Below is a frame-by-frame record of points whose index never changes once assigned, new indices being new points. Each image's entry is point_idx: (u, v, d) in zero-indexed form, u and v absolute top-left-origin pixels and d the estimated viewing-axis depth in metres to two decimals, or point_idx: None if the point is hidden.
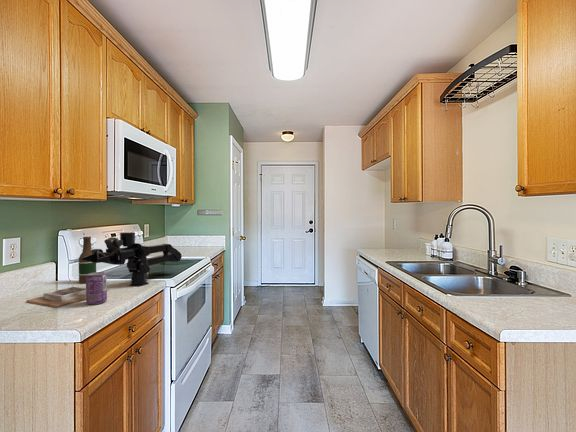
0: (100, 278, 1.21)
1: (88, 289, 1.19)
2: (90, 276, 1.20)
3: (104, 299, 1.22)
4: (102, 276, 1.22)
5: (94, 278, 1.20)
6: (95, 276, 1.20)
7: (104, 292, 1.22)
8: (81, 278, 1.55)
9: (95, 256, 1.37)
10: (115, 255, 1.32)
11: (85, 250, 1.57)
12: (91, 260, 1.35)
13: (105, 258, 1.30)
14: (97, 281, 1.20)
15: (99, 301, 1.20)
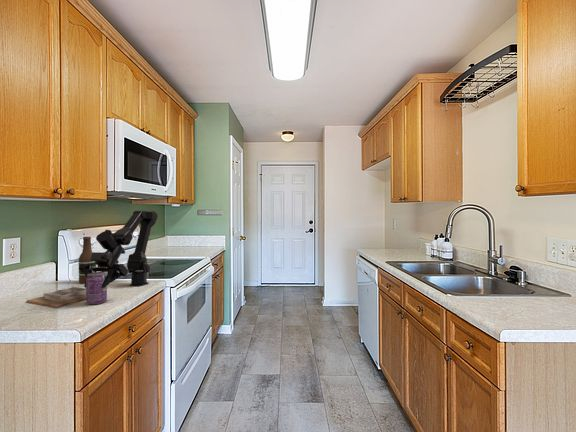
0: (100, 278, 1.21)
1: (88, 289, 1.19)
2: (90, 276, 1.20)
3: (104, 299, 1.22)
4: (102, 276, 1.22)
5: (94, 278, 1.20)
6: (95, 276, 1.20)
7: (104, 292, 1.22)
8: (81, 278, 1.55)
9: None
10: (114, 272, 1.24)
11: (85, 250, 1.57)
12: None
13: (107, 281, 1.23)
14: (97, 281, 1.20)
15: (99, 301, 1.20)
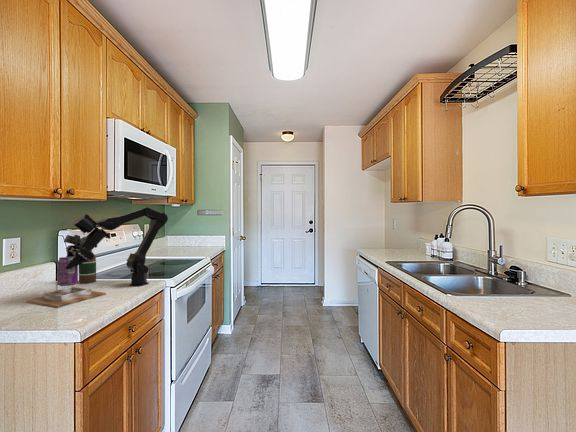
0: (65, 260, 1.26)
1: (57, 271, 1.27)
2: None
3: (69, 282, 1.26)
4: (68, 259, 1.27)
5: (60, 260, 1.26)
6: (61, 258, 1.27)
7: (69, 275, 1.26)
8: (81, 278, 1.55)
9: (72, 255, 1.34)
10: (78, 255, 1.27)
11: None
12: None
13: (72, 263, 1.27)
14: (62, 263, 1.26)
15: (63, 283, 1.25)
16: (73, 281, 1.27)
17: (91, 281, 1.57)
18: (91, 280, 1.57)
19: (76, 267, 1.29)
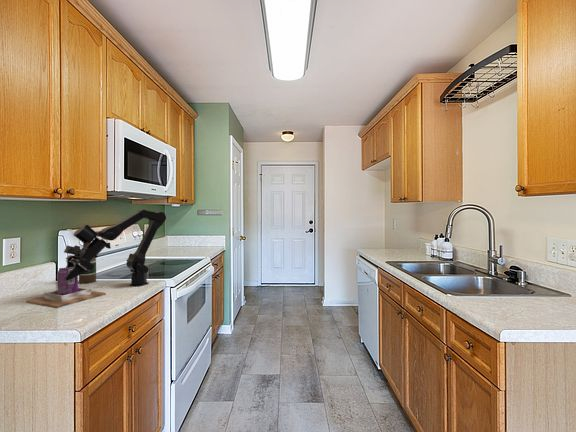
0: (65, 271, 1.26)
1: (57, 281, 1.27)
2: (59, 269, 1.27)
3: (69, 292, 1.26)
4: (68, 270, 1.27)
5: (60, 271, 1.26)
6: (61, 269, 1.27)
7: (69, 285, 1.27)
8: (81, 278, 1.55)
9: (72, 265, 1.34)
10: (78, 266, 1.27)
11: None
12: None
13: (72, 274, 1.27)
14: (62, 274, 1.26)
15: (63, 294, 1.25)
16: (73, 292, 1.27)
17: (91, 281, 1.57)
18: (91, 280, 1.57)
19: (76, 277, 1.30)
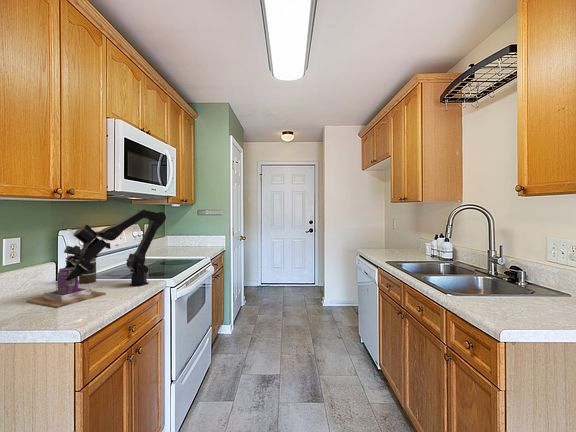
0: (65, 273, 1.26)
1: None
2: (59, 270, 1.27)
3: None
4: (68, 271, 1.26)
5: (60, 272, 1.26)
6: (61, 271, 1.26)
7: (70, 287, 1.26)
8: (81, 278, 1.55)
9: (71, 265, 1.35)
10: (79, 266, 1.27)
11: None
12: None
13: (72, 274, 1.26)
14: (62, 276, 1.25)
15: None
16: None
17: (91, 281, 1.57)
18: (91, 280, 1.57)
19: (76, 279, 1.29)
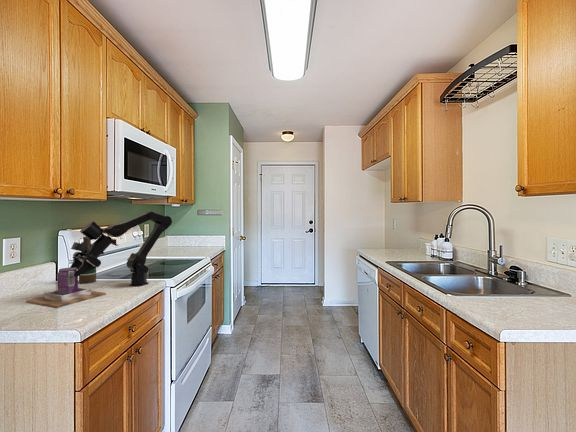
0: (65, 273, 1.25)
1: None
2: (59, 271, 1.26)
3: None
4: (68, 272, 1.26)
5: (60, 273, 1.25)
6: (61, 271, 1.26)
7: (70, 287, 1.26)
8: (81, 278, 1.55)
9: (78, 262, 1.37)
10: (86, 262, 1.29)
11: None
12: (77, 267, 1.36)
13: (80, 270, 1.28)
14: (62, 276, 1.25)
15: None
16: None
17: (91, 281, 1.57)
18: (91, 280, 1.57)
19: (76, 279, 1.29)
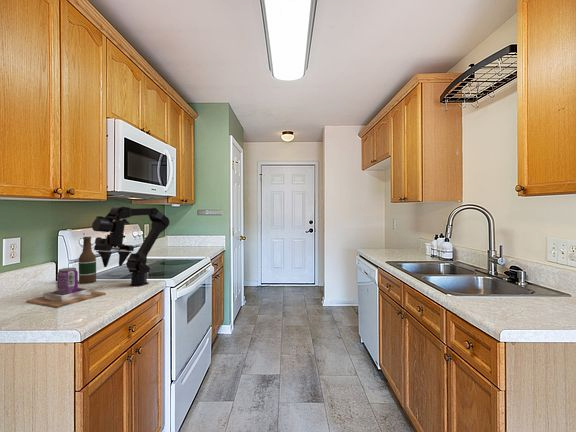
0: (65, 274, 1.25)
1: (57, 283, 1.26)
2: None
3: None
4: (68, 272, 1.26)
5: (60, 273, 1.25)
6: (61, 271, 1.25)
7: (69, 288, 1.26)
8: (81, 278, 1.55)
9: (121, 253, 1.46)
10: (100, 252, 1.34)
11: (85, 249, 1.57)
12: (123, 257, 1.45)
13: (103, 260, 1.35)
14: (61, 276, 1.25)
15: None
16: None
17: (91, 281, 1.57)
18: (91, 280, 1.57)
19: (76, 279, 1.29)
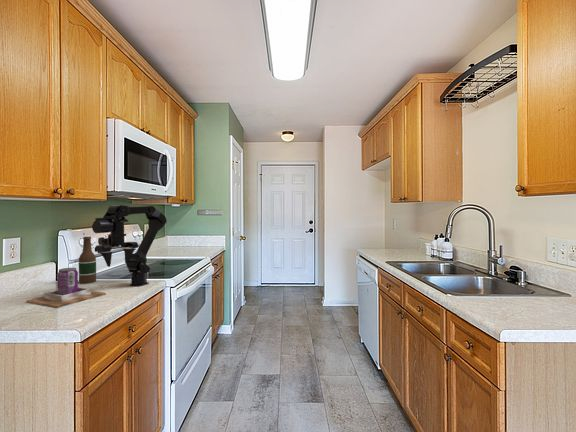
0: (65, 274, 1.25)
1: (57, 283, 1.26)
2: None
3: None
4: (68, 272, 1.26)
5: (60, 273, 1.25)
6: (61, 271, 1.25)
7: (69, 288, 1.26)
8: (81, 278, 1.55)
9: (126, 250, 1.46)
10: None
11: (85, 249, 1.57)
12: (128, 255, 1.46)
13: (106, 260, 1.37)
14: (62, 276, 1.25)
15: None
16: None
17: (91, 281, 1.57)
18: (91, 280, 1.57)
19: (76, 279, 1.29)
